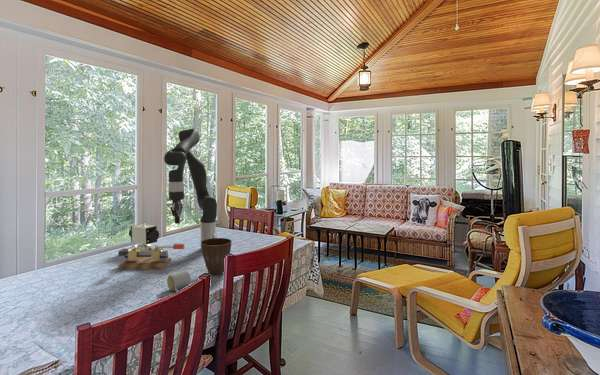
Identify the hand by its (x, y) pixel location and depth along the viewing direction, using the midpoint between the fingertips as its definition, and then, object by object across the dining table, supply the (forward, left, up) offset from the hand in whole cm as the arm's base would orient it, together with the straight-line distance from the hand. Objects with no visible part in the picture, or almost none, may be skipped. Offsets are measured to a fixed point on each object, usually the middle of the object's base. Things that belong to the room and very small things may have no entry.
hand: (177, 223), depth 177 cm
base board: (+18, -2, -23) cm, 29 cm away
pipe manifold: (+18, -2, -21) cm, 27 cm away
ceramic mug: (-12, +32, -23) cm, 41 cm away
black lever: (+24, +5, -14) cm, 28 cm away
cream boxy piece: (+29, -27, -23) cm, 45 cm away
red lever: (+5, -2, -14) cm, 15 cm away
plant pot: (-22, +10, -23) cm, 34 cm away
